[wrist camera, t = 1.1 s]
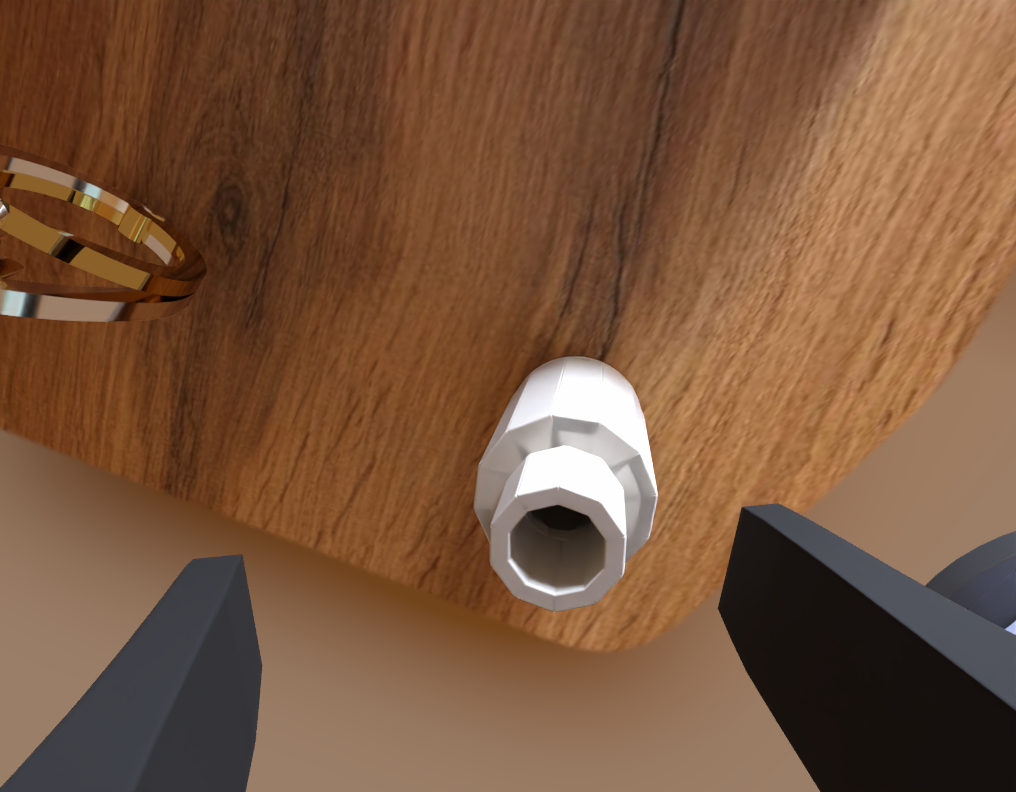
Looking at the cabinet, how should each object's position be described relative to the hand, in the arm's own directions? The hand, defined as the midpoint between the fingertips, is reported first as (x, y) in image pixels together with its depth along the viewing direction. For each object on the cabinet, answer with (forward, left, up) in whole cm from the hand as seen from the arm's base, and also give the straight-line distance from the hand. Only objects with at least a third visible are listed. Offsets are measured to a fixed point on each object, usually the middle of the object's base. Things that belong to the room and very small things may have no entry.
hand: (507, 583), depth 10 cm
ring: (+13, +4, -11) cm, 18 cm away
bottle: (-1, +1, -11) cm, 11 cm away
